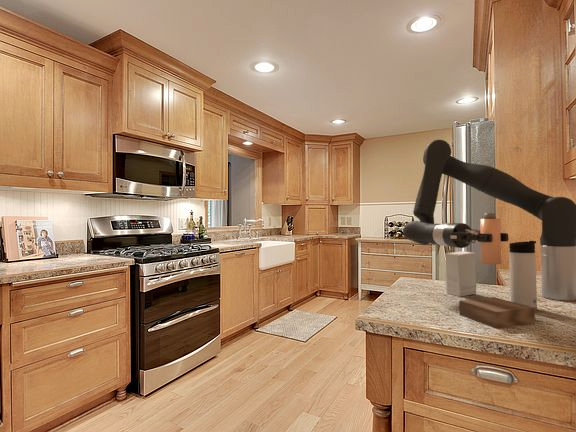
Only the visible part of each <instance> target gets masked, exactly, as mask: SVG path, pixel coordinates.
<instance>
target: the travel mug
mask: <svg viewBox="0 0 576 432" xmlns="http://www.w3.org/2000/svg"><path fill="white" fill-rule="evenodd" d="M536 244H537V241H536V240H529V241H516V242H511V243H509V247H508V248H509V253H508V254H509V283H510V284H509V287H510V289H509V290H510V301H511V302H514V303H518V304H522V305H526V306H530V307H533V308H534V310H535V312H536V311H537V310H538V299H537V295H538V294H537V293H538V292H537V263H536V258H537V257H536V250H535V249H536Z"/></svg>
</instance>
